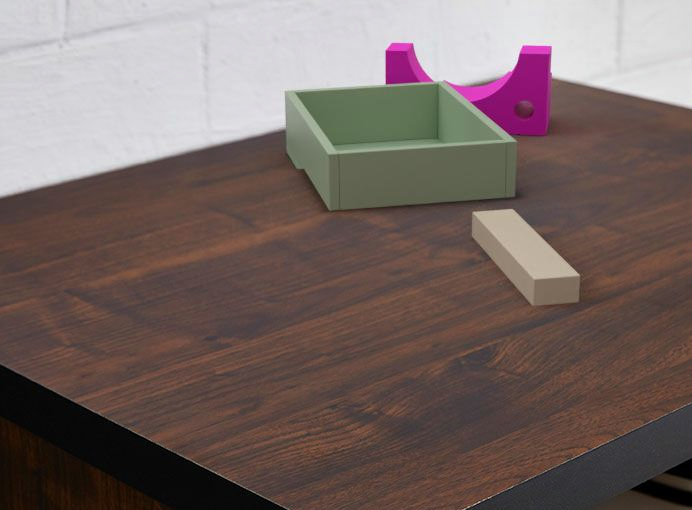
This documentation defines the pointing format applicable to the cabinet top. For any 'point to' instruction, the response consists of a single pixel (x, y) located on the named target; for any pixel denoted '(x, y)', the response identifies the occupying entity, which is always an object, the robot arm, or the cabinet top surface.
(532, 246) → the long cream beam
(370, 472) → the cabinet top surface
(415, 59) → the toy block
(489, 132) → the bin
